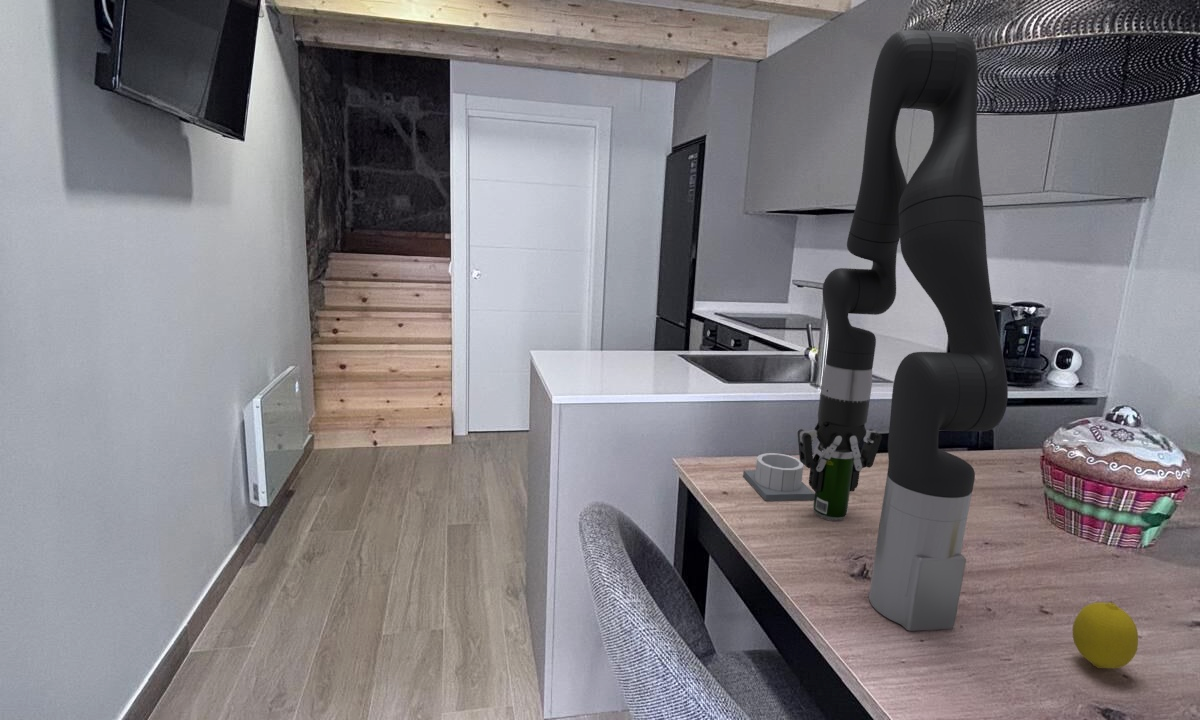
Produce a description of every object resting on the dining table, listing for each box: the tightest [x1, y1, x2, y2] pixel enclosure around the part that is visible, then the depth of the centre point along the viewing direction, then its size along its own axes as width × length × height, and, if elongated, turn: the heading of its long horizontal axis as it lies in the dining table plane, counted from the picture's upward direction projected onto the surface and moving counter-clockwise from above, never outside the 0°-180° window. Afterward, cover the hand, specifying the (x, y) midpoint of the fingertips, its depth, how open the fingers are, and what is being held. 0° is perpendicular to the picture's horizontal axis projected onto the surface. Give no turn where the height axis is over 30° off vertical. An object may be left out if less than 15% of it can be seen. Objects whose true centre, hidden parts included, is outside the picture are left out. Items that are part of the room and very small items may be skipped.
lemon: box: [1072, 601, 1139, 669], centre depth 68 cm, size 6×6×8 cm
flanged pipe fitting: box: [742, 452, 815, 502], centre depth 113 cm, size 11×9×5 cm
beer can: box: [812, 447, 854, 522], centre depth 102 cm, size 5×5×12 cm
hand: (832, 489), depth 103 cm, fingers closed on beer can, 5 cm apart
